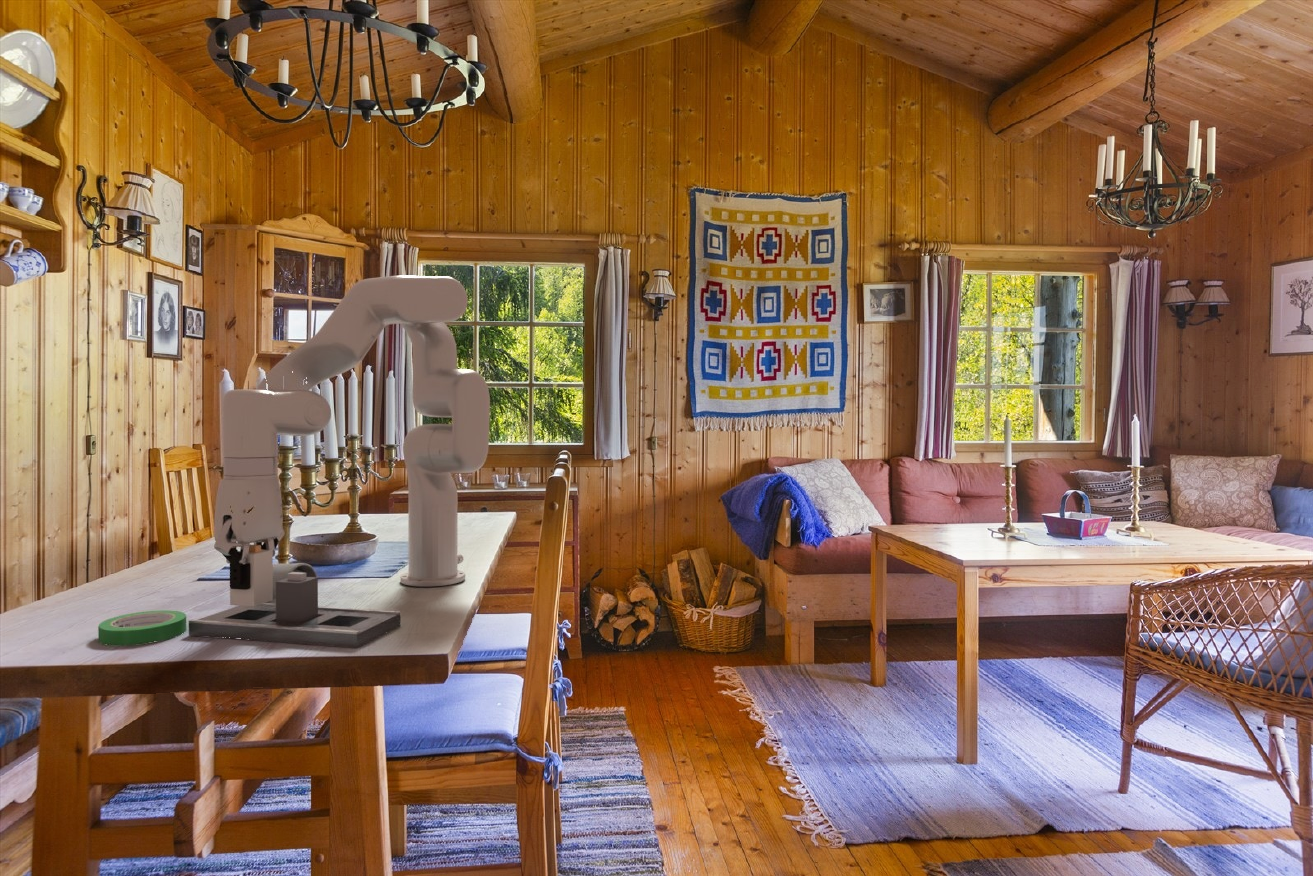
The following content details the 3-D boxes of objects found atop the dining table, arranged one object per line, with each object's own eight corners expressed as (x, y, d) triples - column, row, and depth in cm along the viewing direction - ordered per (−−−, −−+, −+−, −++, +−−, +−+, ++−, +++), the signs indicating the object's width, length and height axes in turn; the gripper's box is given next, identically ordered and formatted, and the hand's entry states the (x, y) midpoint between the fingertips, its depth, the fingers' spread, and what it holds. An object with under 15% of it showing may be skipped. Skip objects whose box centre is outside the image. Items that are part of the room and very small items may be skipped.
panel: (245, 615, 128) (245, 602, 128) (400, 626, 123) (400, 611, 123) (188, 635, 117) (188, 620, 117) (356, 648, 111) (356, 632, 111)
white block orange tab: (249, 598, 124) (249, 542, 123) (272, 600, 123) (272, 543, 123) (230, 604, 120) (229, 546, 119) (254, 606, 119) (253, 548, 118)
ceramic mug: (282, 599, 140) (281, 557, 140) (319, 602, 138) (318, 559, 137) (233, 614, 130) (232, 569, 130) (272, 618, 127) (271, 572, 127)
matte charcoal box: (294, 626, 122) (293, 569, 122) (318, 628, 121) (317, 571, 121) (276, 633, 118) (275, 575, 118) (300, 635, 117) (300, 576, 117)
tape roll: (126, 652, 110) (125, 633, 109) (82, 641, 115) (82, 623, 114) (202, 632, 119) (202, 615, 119) (159, 623, 124) (158, 607, 124)
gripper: (266, 465, 130) (267, 574, 130) (187, 471, 113) (188, 596, 114) (306, 466, 128) (307, 576, 129) (232, 473, 112) (233, 599, 112)
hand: (251, 584), depth 121 cm, fingers closed on white block orange tab, 4 cm apart
